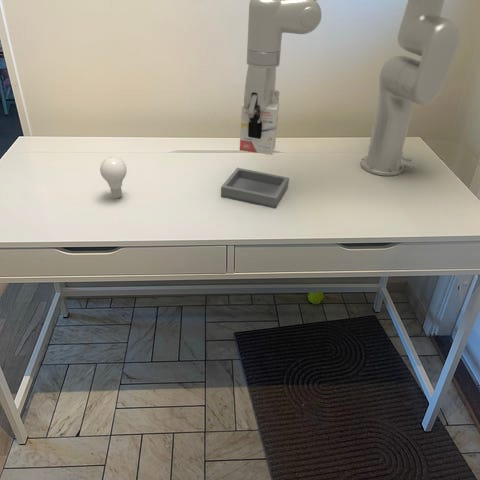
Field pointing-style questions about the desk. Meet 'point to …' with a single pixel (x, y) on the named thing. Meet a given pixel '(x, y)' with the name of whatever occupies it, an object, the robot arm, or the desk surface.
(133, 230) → the desk surface
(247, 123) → the ink cartridge box
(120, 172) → the lightbulb
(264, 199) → the tray
